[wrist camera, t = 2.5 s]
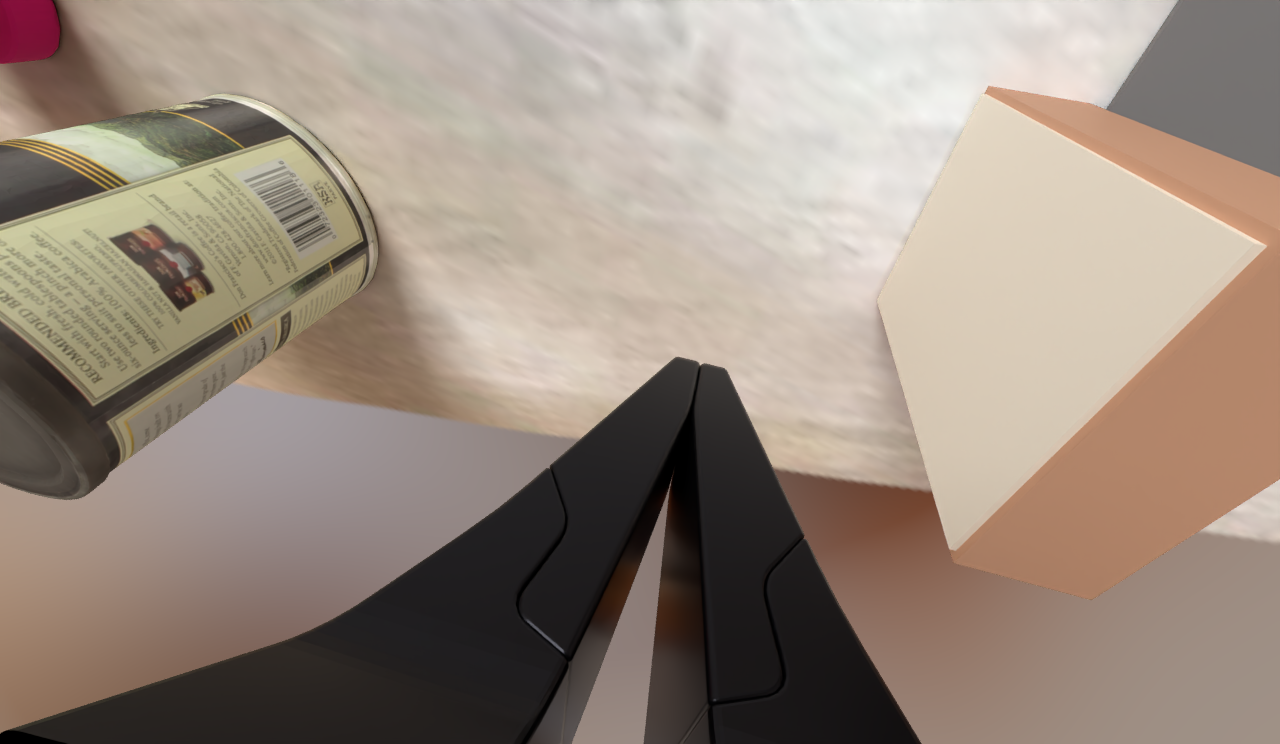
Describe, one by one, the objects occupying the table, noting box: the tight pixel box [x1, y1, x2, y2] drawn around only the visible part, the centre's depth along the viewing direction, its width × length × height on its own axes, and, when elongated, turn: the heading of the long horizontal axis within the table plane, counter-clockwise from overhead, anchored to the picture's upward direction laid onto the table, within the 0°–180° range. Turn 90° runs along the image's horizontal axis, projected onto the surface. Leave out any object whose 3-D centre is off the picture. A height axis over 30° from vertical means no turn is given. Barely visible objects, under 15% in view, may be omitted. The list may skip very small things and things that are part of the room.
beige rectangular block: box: [877, 86, 1280, 600], centre depth 13 cm, size 3×8×12 cm, turn 173°
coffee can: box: [0, 94, 378, 500], centre depth 19 cm, size 10×10×14 cm
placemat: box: [1106, 0, 1280, 177], centre depth 17 cm, size 13×14×1 cm
